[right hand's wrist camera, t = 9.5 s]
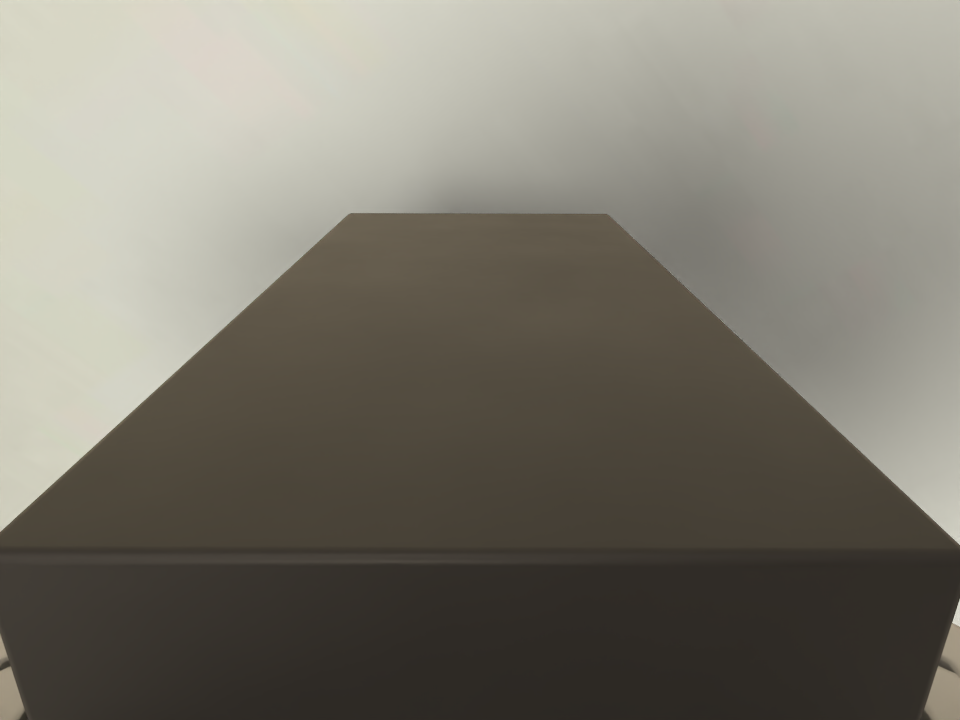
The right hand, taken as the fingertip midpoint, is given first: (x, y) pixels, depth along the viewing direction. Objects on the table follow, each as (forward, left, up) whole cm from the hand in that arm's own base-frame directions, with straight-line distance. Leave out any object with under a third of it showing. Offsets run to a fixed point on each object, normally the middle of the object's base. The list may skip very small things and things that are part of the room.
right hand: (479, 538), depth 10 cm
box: (+4, +7, -7) cm, 11 cm away
